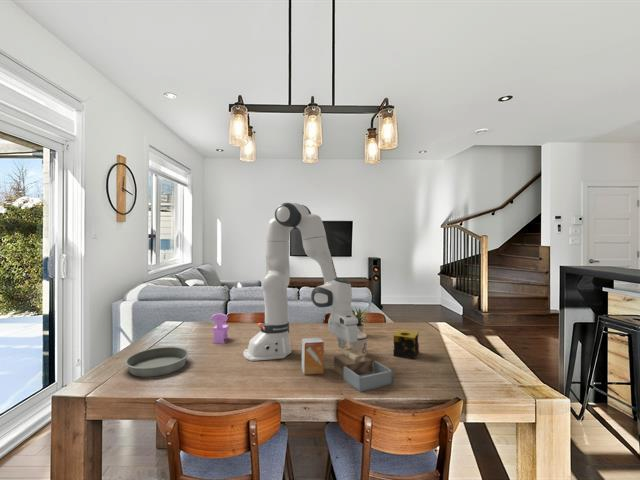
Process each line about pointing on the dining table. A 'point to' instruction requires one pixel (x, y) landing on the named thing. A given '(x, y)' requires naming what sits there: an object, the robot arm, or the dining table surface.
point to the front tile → (356, 357)
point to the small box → (312, 355)
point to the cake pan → (156, 361)
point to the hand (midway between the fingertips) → (341, 347)
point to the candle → (406, 344)
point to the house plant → (360, 318)
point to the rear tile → (347, 351)
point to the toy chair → (220, 328)
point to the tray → (369, 378)
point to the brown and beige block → (353, 365)
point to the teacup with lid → (360, 343)
